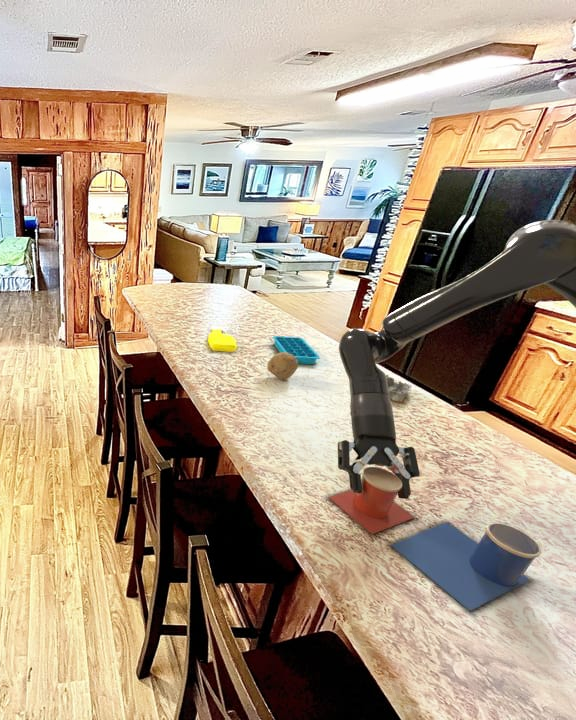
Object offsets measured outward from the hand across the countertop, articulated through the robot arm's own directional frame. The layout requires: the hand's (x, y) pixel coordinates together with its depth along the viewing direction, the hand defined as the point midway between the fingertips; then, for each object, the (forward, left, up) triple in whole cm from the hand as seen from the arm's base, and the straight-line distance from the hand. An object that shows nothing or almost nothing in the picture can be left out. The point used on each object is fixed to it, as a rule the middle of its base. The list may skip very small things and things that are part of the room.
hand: (380, 495), depth 78 cm
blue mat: (-4, +13, -5) cm, 15 cm away
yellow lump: (-27, -89, -5) cm, 93 cm away
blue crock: (-8, +17, -5) cm, 19 cm away
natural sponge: (-25, -53, -5) cm, 59 cm away
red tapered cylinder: (-1, -1, -5) cm, 5 cm away
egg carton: (-52, -33, -5) cm, 62 cm away
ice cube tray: (-46, -68, -5) cm, 82 cm away
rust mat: (-1, -1, -5) cm, 5 cm away
